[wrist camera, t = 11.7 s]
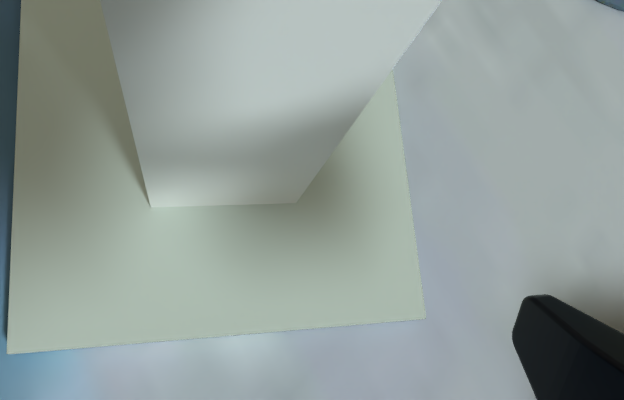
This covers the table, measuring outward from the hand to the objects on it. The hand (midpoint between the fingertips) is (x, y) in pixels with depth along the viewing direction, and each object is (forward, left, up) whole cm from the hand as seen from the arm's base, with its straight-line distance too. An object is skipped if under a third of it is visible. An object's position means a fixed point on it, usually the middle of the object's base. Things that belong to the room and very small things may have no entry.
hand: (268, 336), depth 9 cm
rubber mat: (+6, +2, -8) cm, 10 cm away
